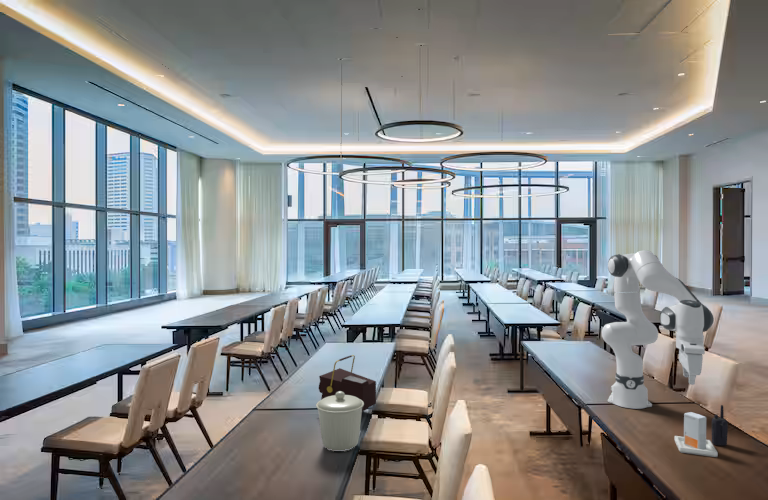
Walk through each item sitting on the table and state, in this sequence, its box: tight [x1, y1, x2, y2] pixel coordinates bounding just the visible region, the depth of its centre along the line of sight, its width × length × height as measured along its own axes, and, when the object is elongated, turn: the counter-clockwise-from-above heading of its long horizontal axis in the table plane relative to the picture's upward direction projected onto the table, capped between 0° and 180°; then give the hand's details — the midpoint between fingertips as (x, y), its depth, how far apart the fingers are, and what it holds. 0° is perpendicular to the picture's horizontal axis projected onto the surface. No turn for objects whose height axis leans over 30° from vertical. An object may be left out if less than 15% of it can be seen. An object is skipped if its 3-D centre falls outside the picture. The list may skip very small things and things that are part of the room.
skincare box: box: [683, 411, 707, 450], centre depth 184 cm, size 6×4×12 cm
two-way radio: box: [711, 404, 729, 446], centre depth 186 cm, size 6×4×15 cm
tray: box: [673, 435, 719, 458], centre depth 184 cm, size 12×12×2 cm
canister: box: [315, 391, 364, 450], centre depth 188 cm, size 18×18×21 cm
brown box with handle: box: [318, 354, 377, 413], centre depth 225 cm, size 16×23×25 cm
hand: (688, 380), depth 186 cm, fingers open, 8 cm apart
